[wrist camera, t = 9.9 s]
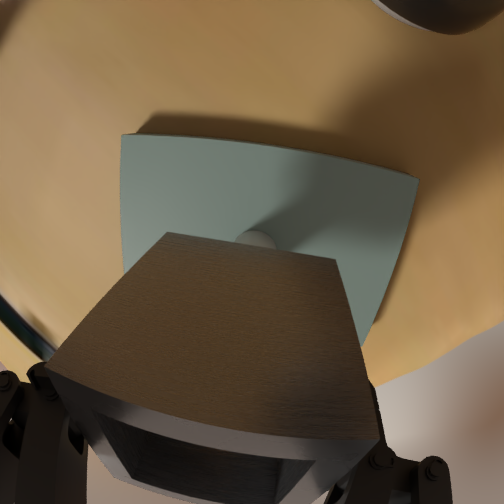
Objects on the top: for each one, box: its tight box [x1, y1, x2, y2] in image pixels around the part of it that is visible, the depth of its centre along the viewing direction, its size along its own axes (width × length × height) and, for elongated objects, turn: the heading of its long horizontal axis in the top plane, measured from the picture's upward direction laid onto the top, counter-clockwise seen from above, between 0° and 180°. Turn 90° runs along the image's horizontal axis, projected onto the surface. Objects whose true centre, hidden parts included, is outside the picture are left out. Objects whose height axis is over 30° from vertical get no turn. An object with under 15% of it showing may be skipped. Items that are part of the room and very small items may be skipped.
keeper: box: [120, 133, 420, 346], centre depth 15 cm, size 20×14×14 cm
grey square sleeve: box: [44, 232, 380, 504], centre depth 10 cm, size 7×7×8 cm
